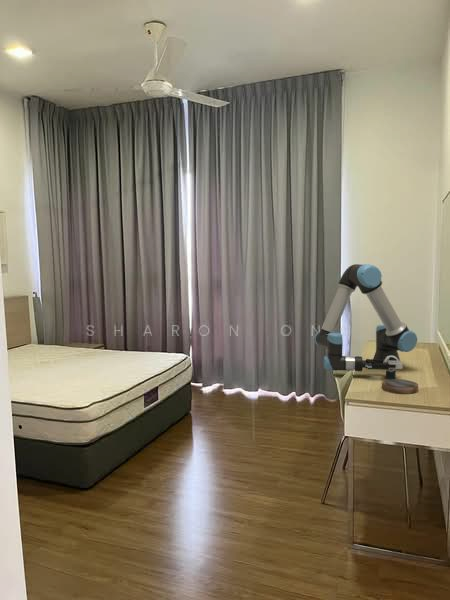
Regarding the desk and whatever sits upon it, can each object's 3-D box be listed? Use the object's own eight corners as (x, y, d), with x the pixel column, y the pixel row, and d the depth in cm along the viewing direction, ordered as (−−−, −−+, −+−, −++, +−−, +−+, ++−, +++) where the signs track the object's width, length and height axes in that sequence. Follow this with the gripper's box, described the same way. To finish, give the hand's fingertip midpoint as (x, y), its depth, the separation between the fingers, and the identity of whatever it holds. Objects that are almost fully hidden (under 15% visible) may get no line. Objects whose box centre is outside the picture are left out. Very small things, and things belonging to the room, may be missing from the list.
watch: (382, 374, 249) (383, 354, 248) (399, 376, 246) (399, 355, 244) (381, 377, 244) (381, 356, 243) (398, 379, 241) (398, 357, 239)
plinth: (393, 382, 236) (393, 376, 235) (424, 389, 223) (424, 383, 223) (375, 388, 226) (375, 382, 225) (406, 396, 213) (406, 389, 213)
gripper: (353, 366, 257) (399, 367, 252) (355, 374, 240) (404, 376, 235) (353, 352, 256) (399, 353, 251) (355, 360, 239) (404, 361, 234)
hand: (401, 364), depth 243 cm, fingers closed on watch, 5 cm apart
